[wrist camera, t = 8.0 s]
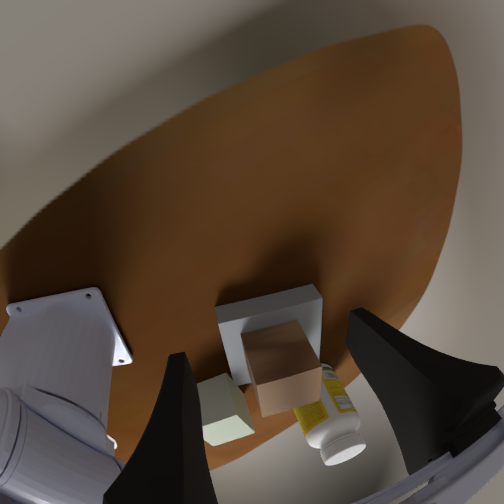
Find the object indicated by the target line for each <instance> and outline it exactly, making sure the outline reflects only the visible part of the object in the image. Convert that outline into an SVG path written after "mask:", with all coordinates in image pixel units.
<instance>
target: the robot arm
mask: <svg viewBox="0 0 504 504" xmlns="http://www.w3.org/2000/svg"><path fill="white" fill-rule="evenodd" d="M87 294H90V295H91V296H87ZM19 308H20V309H19ZM6 310H7V312H8V314H9V315H10V317H11V318H10V319H9V321H8V323H7V325H6V327H5V329H4V331H3V333H2V335H1V337H0V504H218V502H217V498H216V495H215V492H214V488H213V484H212V480H211V476H210V472H209V468H208V463H207V459H206V454H205V447H204V438H203V427H202V416H201V405H200V398H199V393H198V388H197V383H196V380H195V377H194V375H193V372H192V370H191V367H190V364H189V362H188V359H187V357H186V354H185V352H181V353H176V354H170V356H169V357H168V362H167V367H166V371H165V375H164V379H163V382H162V386H161V389H160V392H159V395H158V398H157V401H156V404H155V407H154V409H153V412H152V415H151V417H150V420H149V422H148V425H147V427H146V429H145V431H144V433H143V435H142V437H141V439H140V441H139V443H138V445H137V447H136V449H135V451H134V452H133V454H132V456H131V457H130V459H129V460H128V462H127V464H126V465H125V464H124V463H123V462H122V461H121V460H120V459H118V458H117V457H115V456H114V442H113V441H112V440H110V439H109V438H108V437H107V417H108V404H109V393H110V384H111V375H112V366H116V365H124V364H130V363H132V360H133V358H132V355H131V353H130V352H129V350H128V348H127V346H126V344H125V342H124V340H123V338H122V336H121V334H120V332H119V330H118V328H117V326H116V324H115V322H114V320H113V318H112V315H111V313H110V311H109V309H108V307H107V304H106V302H105V300H104V298H103V295H102V293H101V291H100V290H99V289H98V288H96V287H91V288H86V289H81V290H76V291H71V292H66V293H61V294H56V295H51V296H46V297H41V298H36V299H31V300H26V301H21V302H16V303H11V304H8V306H7V308H6ZM346 344H347V347H348V349H349V351H350V353H351V355H352V357H353V359H354V361H355V363H356V365H357V366H358V368H359V369H360V371H361V372H362V374H363V375H364V377H365V378H366V380H367V381H368V383H369V385H370V386H371V387H372V389H373V391H374V392H375V393H376V395H377V397H378V399H379V401H380V402H381V404H382V406H383V408H384V410H385V412H386V415H387V417H388V419H389V421H390V423H391V425H392V428H393V430H394V432H395V435H396V438H397V441H398V443H399V446H400V449H401V452H402V455H403V458H404V461H405V465H406V468H407V472H408V474H409V475H410V476H408V477H406V478H405V479H403V480H401V481H399V482H397V483H395V484H394V485H391V486H389V487H387V488H385V489H384V490H381V491H379V492H377V493H375V494H373V495H371V496H369V497H367V498H364V499H362V500H360V501H357V502H355V503H352V504H387V503H389V502H391V501H393V500H395V499H397V498H399V497H401V496H402V495H404V494H406V493H408V492H410V491H411V490H413V489H415V488H417V487H418V486H420V485H422V484H423V483H425V482H427V481H428V480H429V482H428V485H427V486H425V487H424V488H422V489H420V490H419V491H417V492H416V493H414V494H413V495H411V496H410V497H408V498H407V499H406V500H404V501H402V502H401V503H399V504H465V503H466V502H467V501H469V500H470V499H471V498H472V497H473V496H474V495H476V494H477V493H478V492H479V491H480V490H481V489H482V488H483V487H484V486H485V485H486V484H487V483H489V481H490V480H492V479H493V478H494V476H496V475H497V474H498V472H499V471H501V469H502V468H503V467H504V405H503V406H502V407H501V408H500V409H499V410H498V411H496V410H495V409H494V408H495V407H496V403H495V402H494V401H493V400H494V399H495V398H496V396H497V395H498V394H499V392H500V391H501V390H502V388H503V387H504V374H503V373H502V372H501V371H500V370H499V368H498V367H497V366H490V365H483V364H478V363H473V362H469V361H465V360H462V359H458V358H455V357H452V356H449V355H447V354H444V353H441V352H439V351H437V350H434V349H432V348H430V347H428V346H425V345H423V344H421V343H419V342H418V341H416V340H414V339H412V338H410V337H409V336H407V335H405V334H403V333H402V332H400V331H398V330H397V329H395V328H394V327H392V326H390V325H389V324H387V323H386V322H384V321H383V320H381V319H380V318H378V317H377V316H375V315H373V314H372V313H370V312H369V311H367V310H366V309H364V308H358V309H355V310H352V311H350V318H349V325H348V331H347V338H346ZM121 359H123V360H121Z"/></svg>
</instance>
